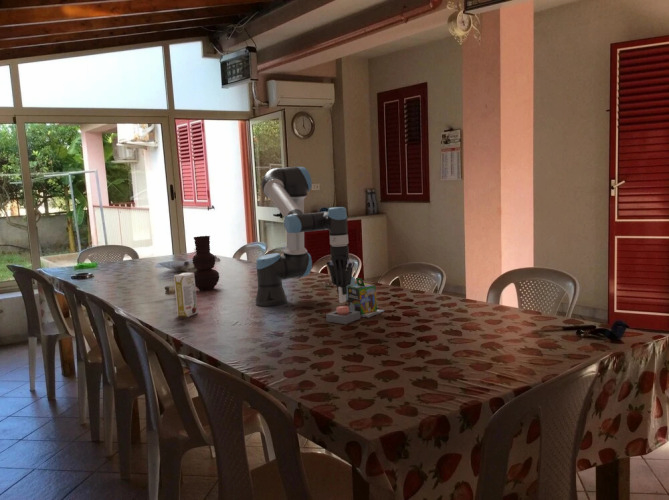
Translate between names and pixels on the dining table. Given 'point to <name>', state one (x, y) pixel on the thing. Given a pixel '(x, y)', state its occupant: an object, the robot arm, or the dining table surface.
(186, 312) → the juice carton
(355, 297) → the chalk box
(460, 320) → the dining table surface
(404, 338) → the dining table surface
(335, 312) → the button housing
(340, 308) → the button
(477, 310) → the dining table surface
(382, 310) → the sketch board
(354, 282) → the cup
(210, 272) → the vase
